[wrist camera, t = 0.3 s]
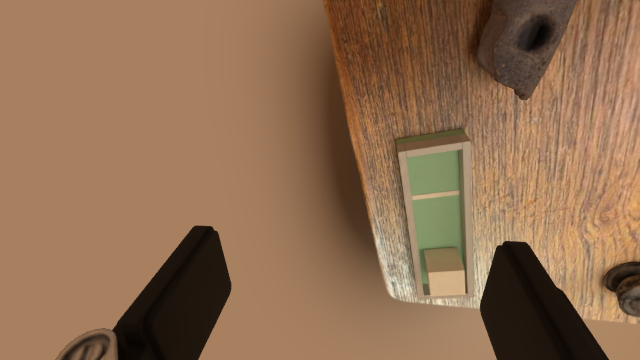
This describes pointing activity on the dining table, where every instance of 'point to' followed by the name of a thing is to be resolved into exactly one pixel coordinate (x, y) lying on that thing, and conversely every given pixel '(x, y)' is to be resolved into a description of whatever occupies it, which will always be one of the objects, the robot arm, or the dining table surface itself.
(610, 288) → the chess piece
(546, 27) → the perforated stone tool
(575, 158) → the dining table surface
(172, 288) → the robot arm
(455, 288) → the beige cube
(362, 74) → the dining table surface
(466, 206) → the tray
